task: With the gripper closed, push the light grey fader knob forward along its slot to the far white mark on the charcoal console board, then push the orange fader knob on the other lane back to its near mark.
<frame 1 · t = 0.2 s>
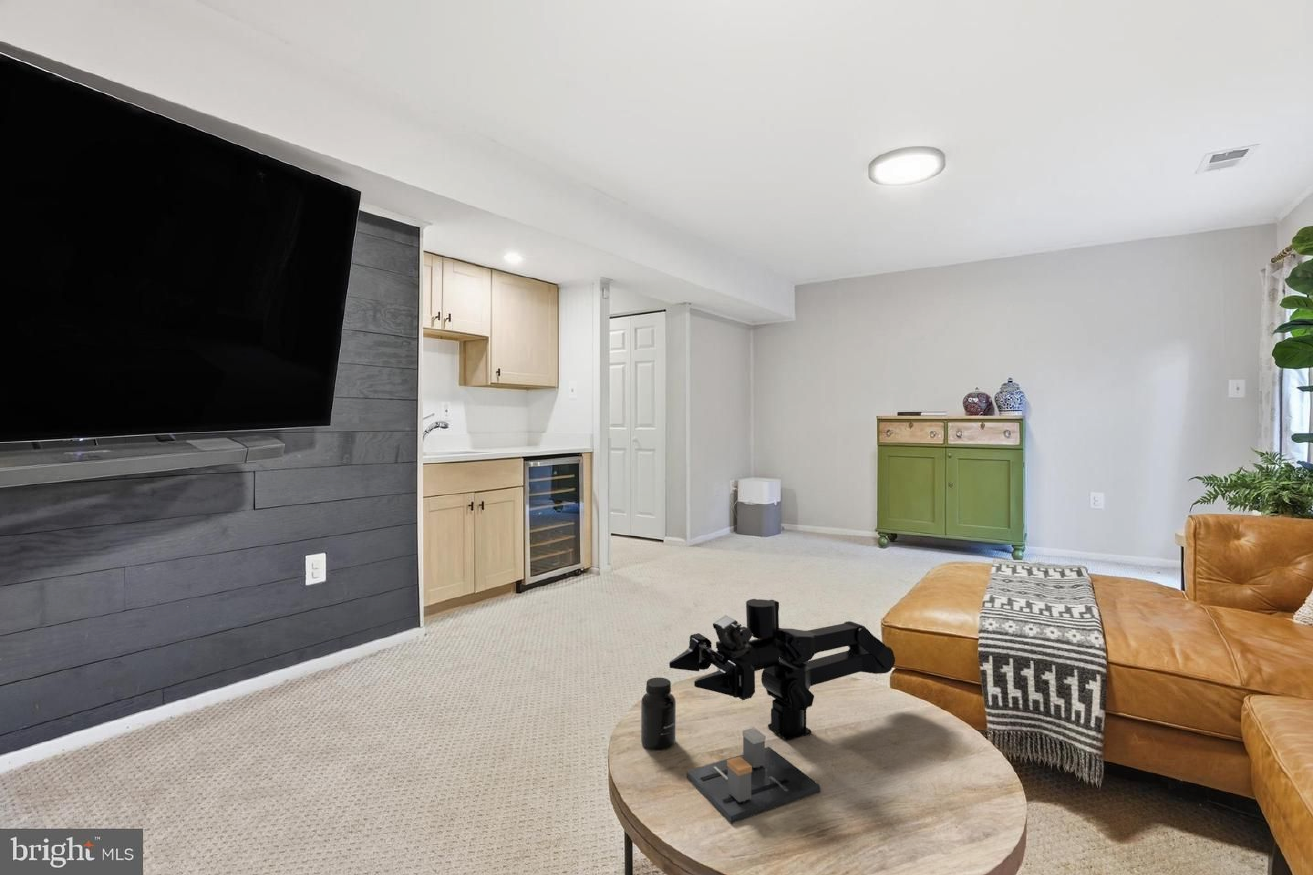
hand: (681, 674, 109), 16 cm above the table, tool horizontal, fingers open, 9 cm apart
console board: (751, 784, 102), on the table
supplement bottle: (658, 743, 117), on the table
fader a: (753, 747, 107), point 4 cm above the table, slide at 0.0 cm
fader b: (739, 778, 97), point 4 cm above the table, slide at 8.0 cm
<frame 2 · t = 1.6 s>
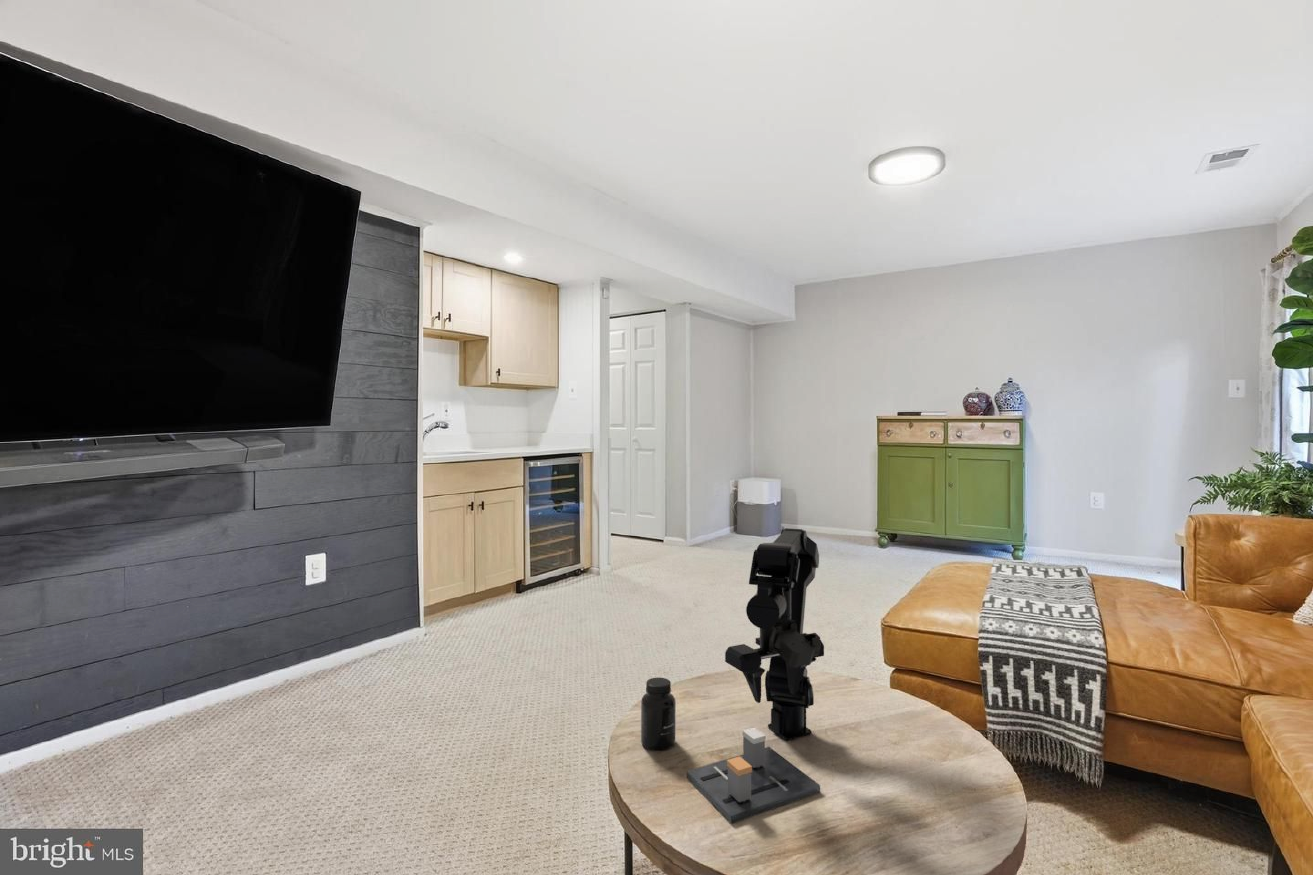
hand: (775, 697, 109), 12 cm above the table, tool pointing down, fingers open, 8 cm apart
nothing on the table moved.
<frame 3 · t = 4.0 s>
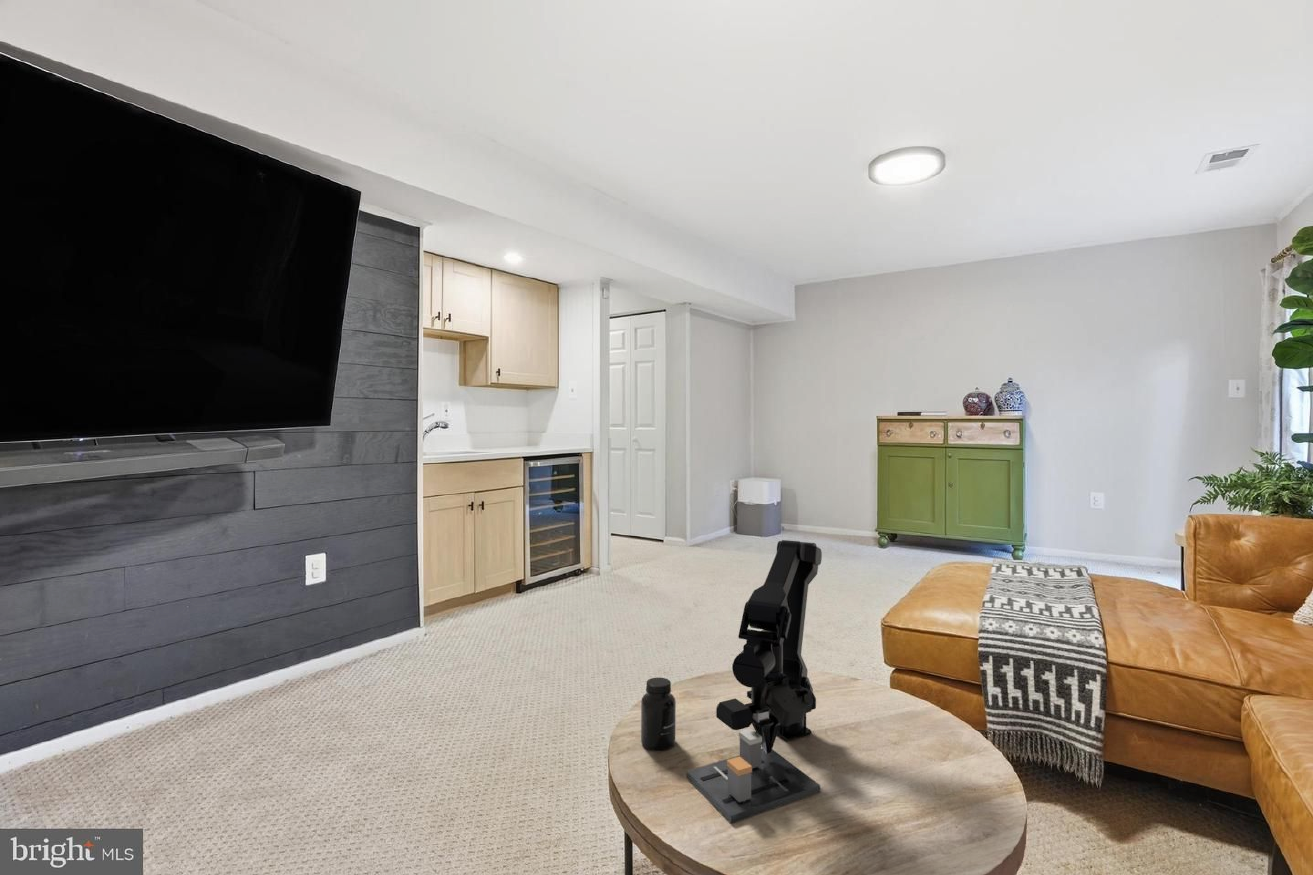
hand: (767, 752, 108), 3 cm above the table, tool pointing down, fingers closed
fader a: (750, 748, 106), point 4 cm above the table, slide at 0.8 cm, touching gripper
everything else where it was.
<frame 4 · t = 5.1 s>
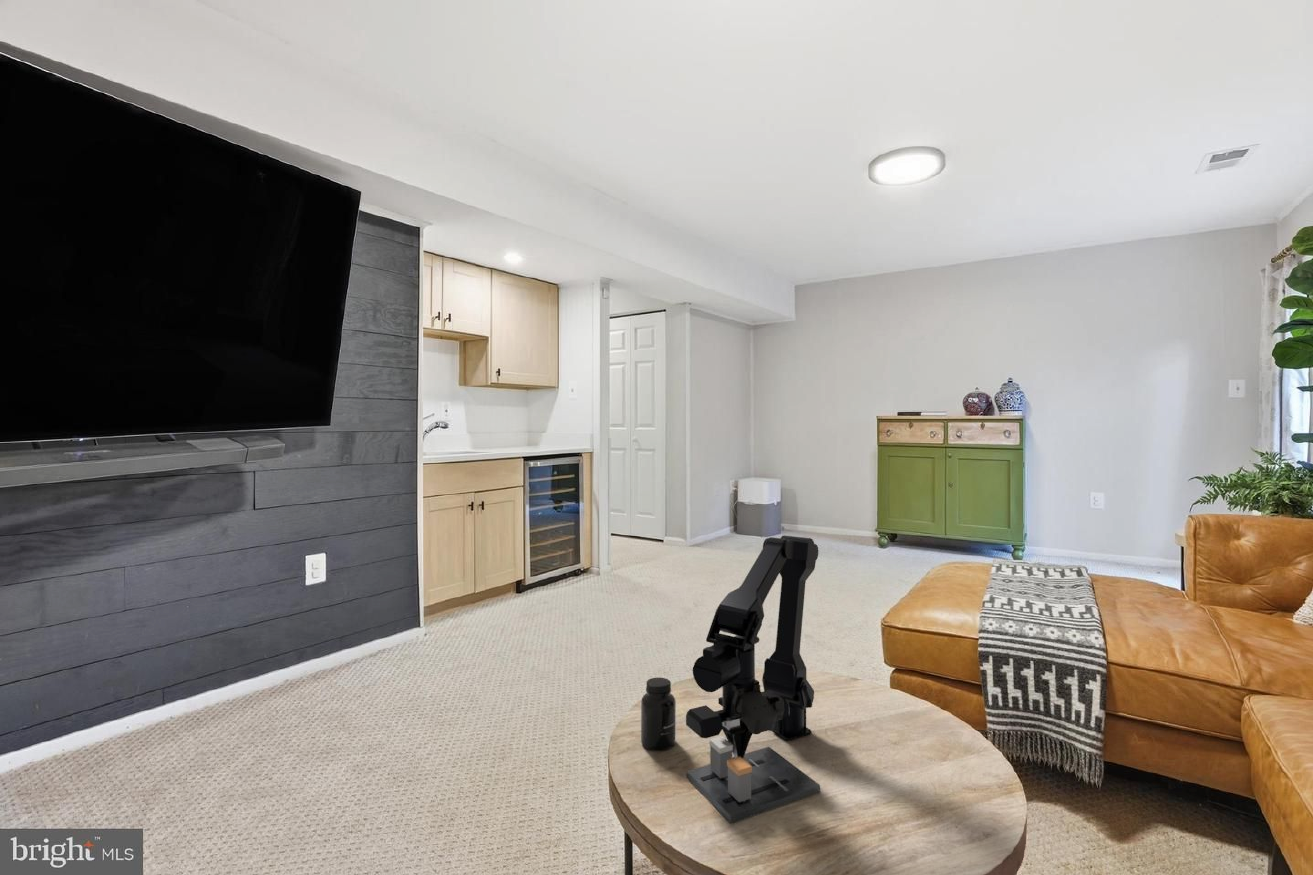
hand: (738, 760, 105), 3 cm above the table, tool pointing down, fingers closed
fader a: (721, 756, 104), point 4 cm above the table, slide at 7.0 cm, touching gripper
everything else where it was.
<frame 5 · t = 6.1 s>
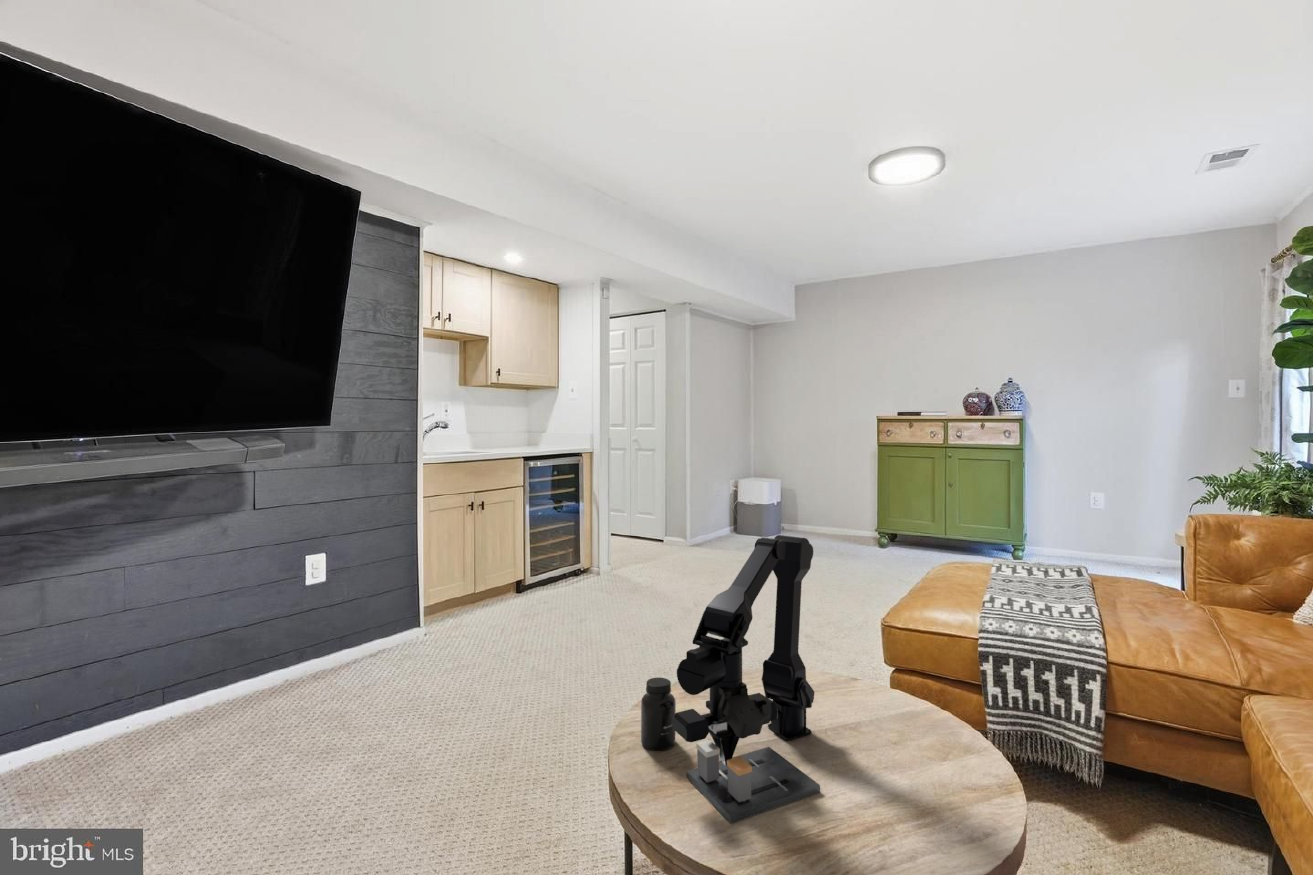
hand: (726, 764, 104), 3 cm above the table, tool pointing down, fingers closed
fader a: (708, 760, 103), point 4 cm above the table, slide at 9.7 cm, touching gripper
everything else where it was.
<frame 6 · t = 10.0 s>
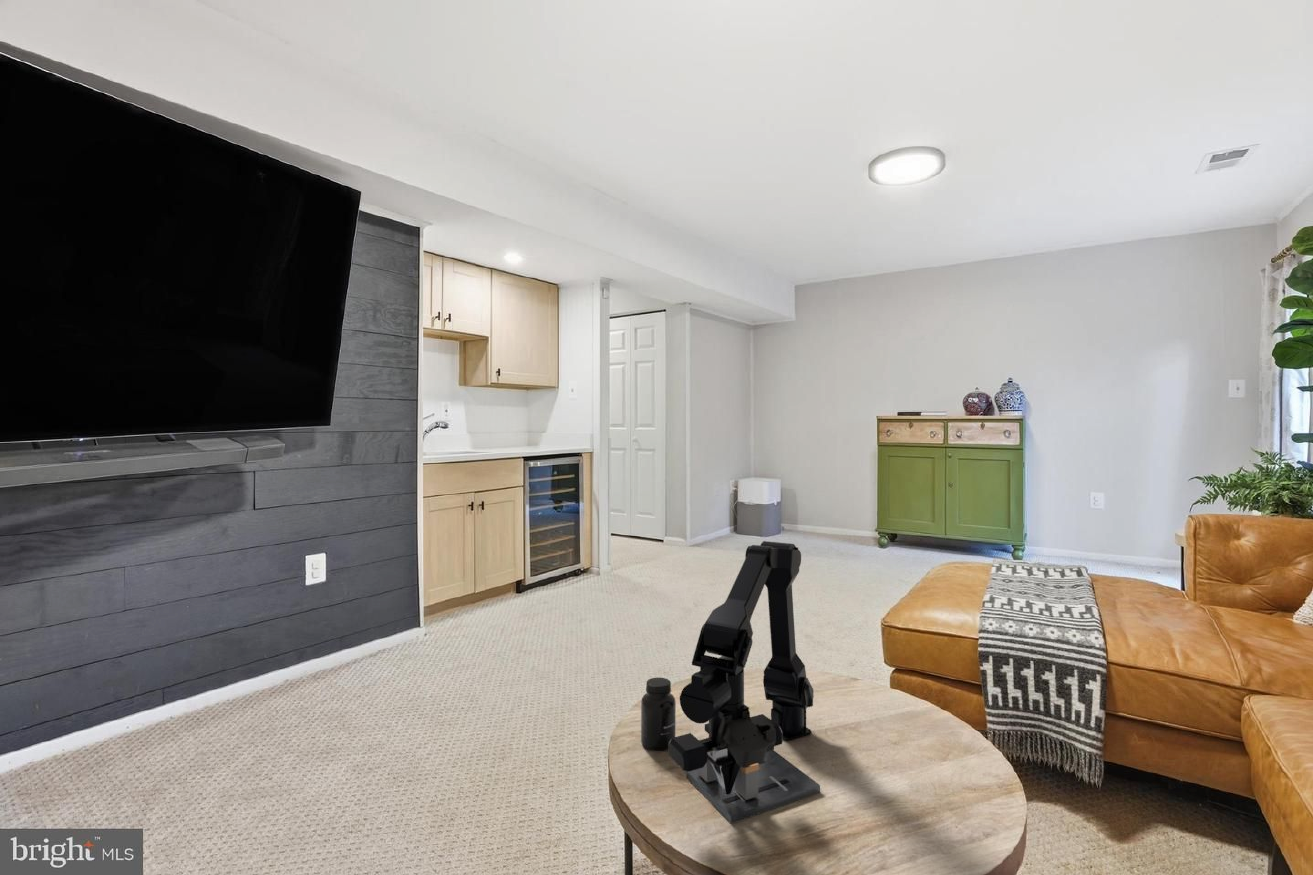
hand: (726, 793, 96), 2 cm above the table, tool pointing down, fingers closed
fader a: (708, 760, 103), point 4 cm above the table, slide at 9.7 cm
fader b: (746, 776, 98), point 4 cm above the table, slide at 6.6 cm, touching gripper
everything else where it was.
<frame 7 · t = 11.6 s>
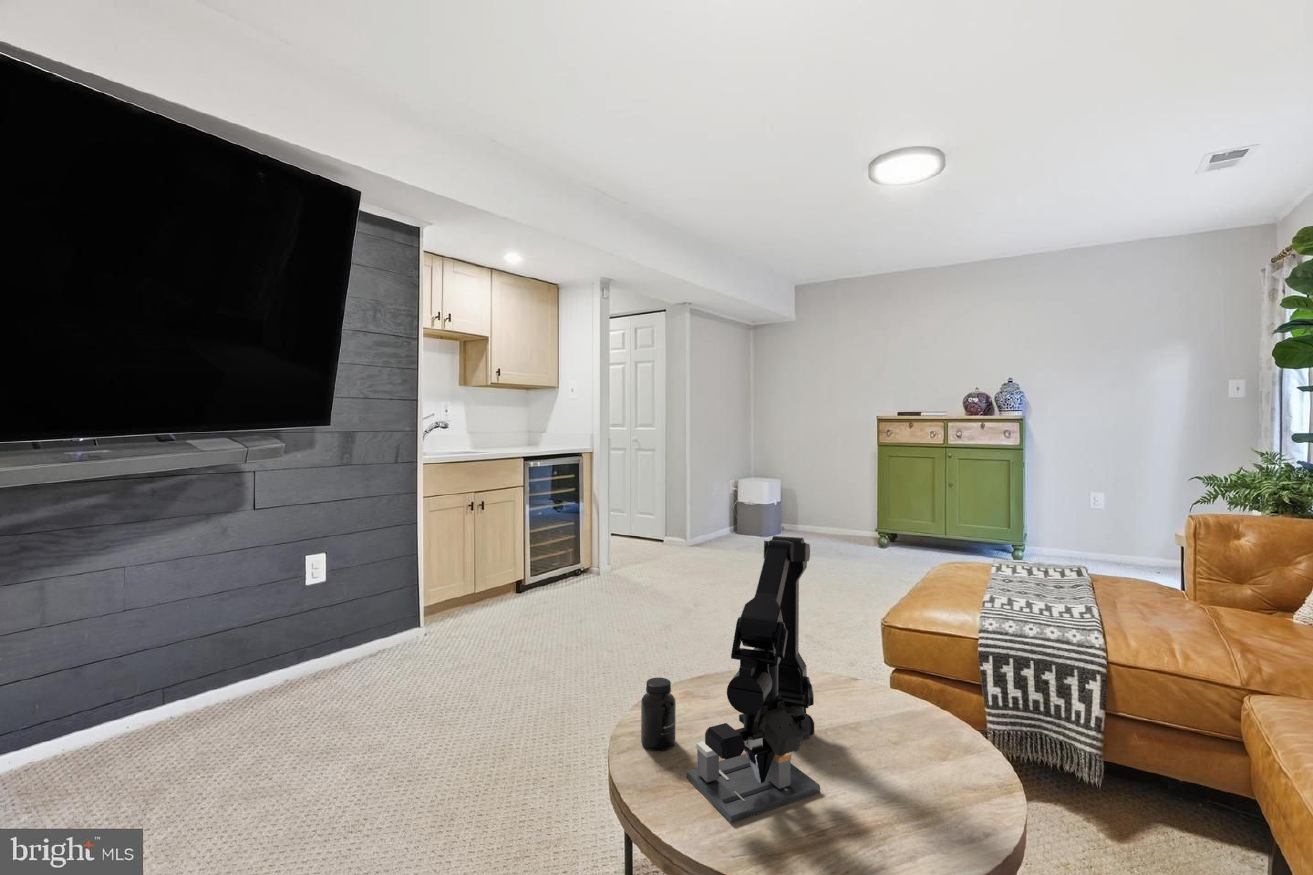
hand: (760, 781, 99), 3 cm above the table, tool pointing down, fingers closed
fader b: (778, 766, 101), point 4 cm above the table, slide at 0.0 cm, touching gripper
everything else where it was.
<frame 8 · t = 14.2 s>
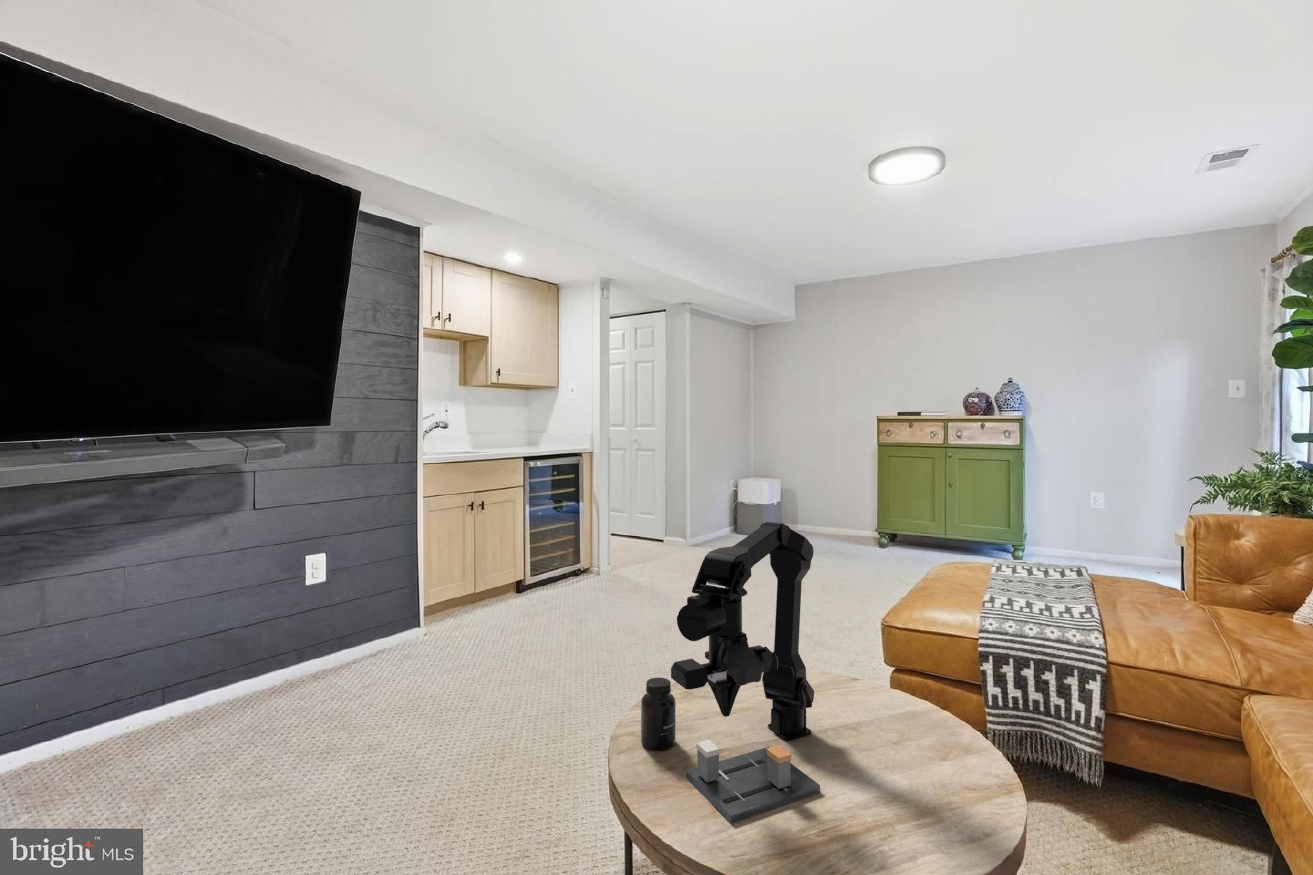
hand: (725, 715, 102), 12 cm above the table, tool pointing down, fingers closed
fader b: (778, 766, 101), point 4 cm above the table, slide at 0.0 cm
everything else where it was.
at the end: fader a slide at 9.7 cm; fader b slide at 0.0 cm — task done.
